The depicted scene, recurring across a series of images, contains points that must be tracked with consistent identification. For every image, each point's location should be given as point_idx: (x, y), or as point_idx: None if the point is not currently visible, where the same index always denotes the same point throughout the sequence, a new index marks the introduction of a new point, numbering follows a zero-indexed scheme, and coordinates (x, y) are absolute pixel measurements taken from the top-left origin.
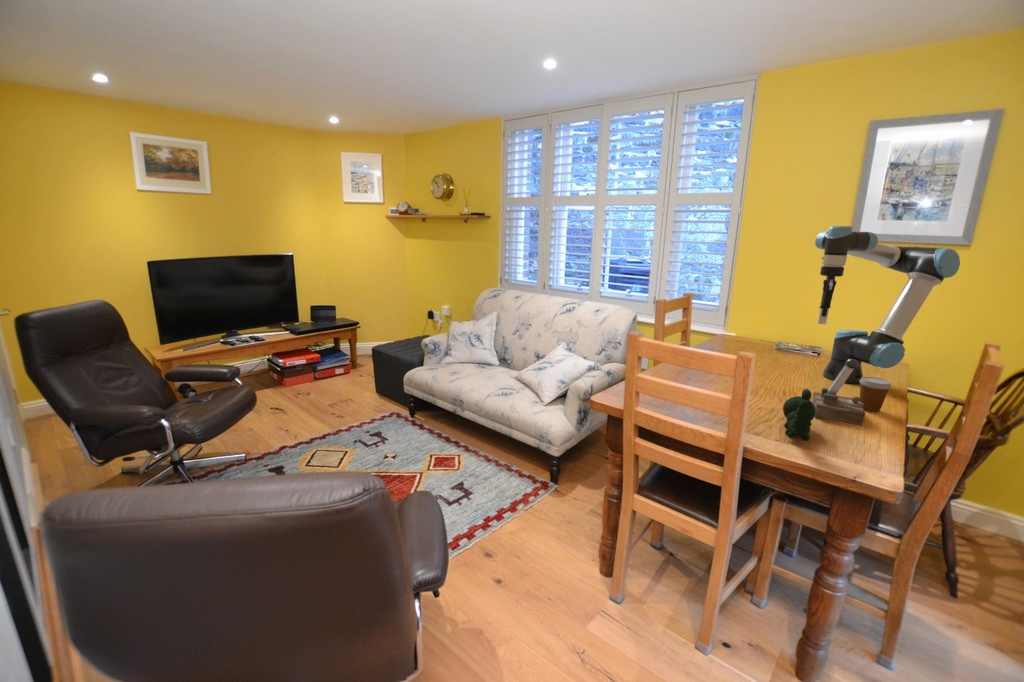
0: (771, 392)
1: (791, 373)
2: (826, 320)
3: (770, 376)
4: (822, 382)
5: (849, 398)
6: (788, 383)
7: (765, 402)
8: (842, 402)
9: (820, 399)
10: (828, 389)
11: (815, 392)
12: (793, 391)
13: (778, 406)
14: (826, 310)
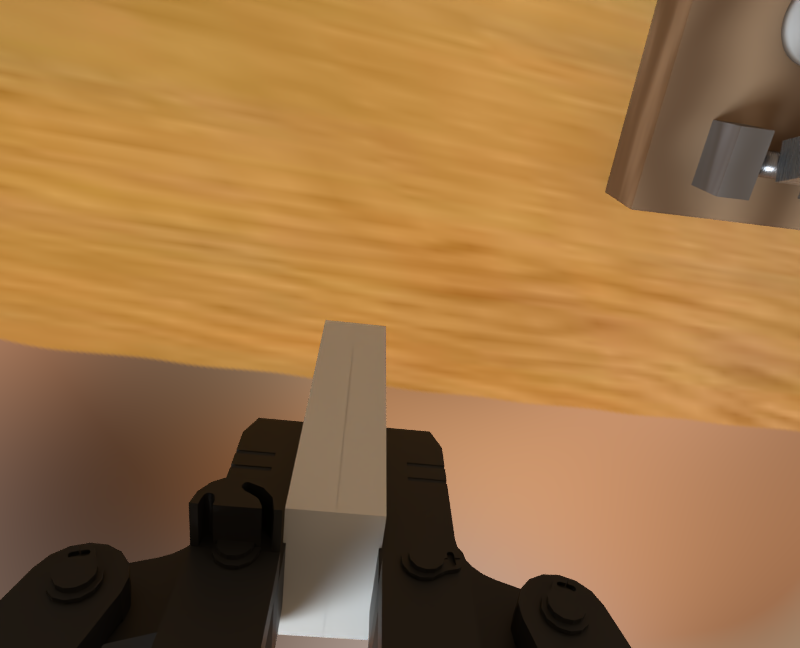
0: (486, 350)
1: (10, 197)
2: (383, 360)
3: (175, 324)
4: (108, 28)
5: (708, 18)
6: (268, 249)
7: (651, 389)
8: (797, 88)
9: (765, 201)
10: (791, 180)
11: (640, 202)
12: (418, 246)
13: (691, 345)
14: (452, 534)
